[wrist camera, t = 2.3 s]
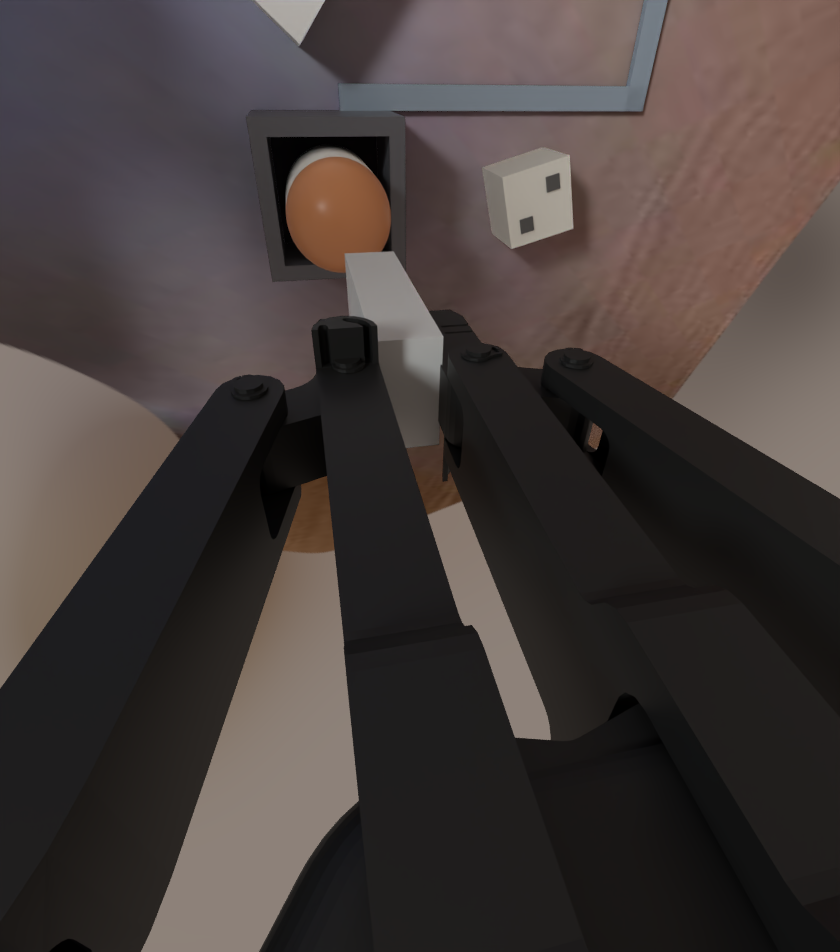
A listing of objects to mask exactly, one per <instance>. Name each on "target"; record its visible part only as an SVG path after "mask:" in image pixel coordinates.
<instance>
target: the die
mask: <svg viewBox="0 0 840 952" xmlns="http://www.w3.org/2000/svg"><path fill="white" fill-rule="evenodd" d="M482 171H483V178H484V185H485V192H486V198H487V205H488V212H489V218H490V225H491V232H492V234H493V235H494V236H495V237H497V238H498V239H499V240H501V241H502V242H503V243H504V244H506V245H507V246H508V247H509V248H511V249H514V248H517V247H520V246H523V245H526V244H529V243H532V242H535V241H538V240H541V239H544V238H547V237H550V236H553V235H556V234H559V233H562V232H565V231H568V230H571V229H573V211H572V192H571V172H570V155H567V154H564V153H561V152H558V151H554V150H551V149H548V148H544V147H542V148H539V149H536V150H533V151H530V152H526V153H523V154H520V155H517V156H514V157H511V158H508V159H505V160H502V161H499V162H496V163H493V164H490V165H487V166H484V167H482Z"/></svg>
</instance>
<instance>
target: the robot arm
mask: <svg viewBox="0 0 840 952" xmlns="http://www.w3.org/2000/svg"><path fill="white" fill-rule="evenodd" d="M344 254H345V267H346V280H347V294H348V307H349V316H338V317H331V318H327V319H320V320H319V321H318V322H317V323H316V324H315V325H313V328H312V330H311V331H312V339H313V347H314V355H315V363H316V375H315V376H314V378H313V379H312V380H310V381H309V382H308V383H306V384H304V385H302V386H299V387H296V388H293V389H290V390H286V391H285V389H284V385H283V384H282V383H281V381H280V380H278V379H275V378H273V377H270V376H263V375H243V376H242V377H241V376H239V377H236V378H234V379H232V380H230V381H228V382H225V383H223V384H222V385H221V386H220V387H218V388H217V389H216V390H215V392H214V393H213V394H212V396H211V397H210V399H209V400H208V401H207V403H206V404H205V406H204V407H203V408H202V410H201V411H200V412H199V414H198V415H197V417H196V418H195V419H194V421H193V422H192V424H191V425H190V426H189V428H188V429H187V430H186V432H185V433H184V435H183V436H182V437H181V439H180V440H179V442H178V443H177V444H176V446H175V447H174V449H173V450H172V451H171V453H170V454H169V456H168V457H167V458H166V460H165V461H164V463H163V464H162V465H161V467H160V468H159V469H158V471H157V472H156V474H155V475H154V476H153V478H152V479H151V481H150V482H149V483H148V485H147V486H146V487H145V489H144V490H143V492H142V493H141V494H140V496H139V497H138V498H137V500H136V501H135V503H134V504H133V505H132V507H131V508H130V510H129V511H128V512H127V514H126V515H125V517H124V518H123V519H122V521H121V522H120V524H119V525H118V526H117V528H116V529H115V530H114V532H113V533H112V535H111V536H110V537H109V539H108V540H107V541H106V543H105V544H104V546H103V547H102V549H101V550H100V551H99V553H98V554H97V555H96V557H95V558H94V559H93V561H92V562H91V564H90V565H89V566H88V568H87V569H86V571H85V572H84V573H83V575H82V576H81V578H80V579H79V580H78V582H77V583H76V585H75V586H74V587H73V589H72V590H71V592H70V593H69V594H68V596H67V597H66V598H65V600H64V601H63V602H62V604H61V605H60V607H59V608H58V609H57V611H56V612H55V614H54V615H53V616H52V618H51V619H50V621H49V622H48V623H47V625H46V626H45V627H44V629H43V631H42V632H41V633H40V634H39V636H38V637H37V639H36V640H35V642H34V643H33V644H32V646H31V647H30V648H29V650H28V651H27V652H26V654H25V655H24V657H23V658H22V659H21V661H20V662H19V664H18V665H17V666H16V668H15V669H14V670H13V672H12V673H11V675H10V676H9V677H8V679H7V680H6V682H5V683H4V684H3V686H2V687H1V689H0V952H141V950H142V948H143V946H144V944H145V942H146V940H147V937H148V935H149V933H150V931H151V928H152V926H153V923H154V921H155V918H156V916H157V913H158V910H159V908H160V905H161V903H162V900H163V897H164V895H165V892H166V890H167V887H168V885H169V882H170V879H171V877H172V874H173V871H174V868H175V865H176V862H177V859H178V856H179V853H180V851H181V847H182V845H183V842H184V839H185V836H186V833H187V830H188V827H189V824H190V821H191V818H192V815H193V812H194V809H195V806H196V803H197V800H198V797H199V794H200V791H201V788H202V786H203V783H204V780H205V777H206V774H207V771H208V768H209V765H210V762H211V759H212V756H213V753H214V750H215V747H216V744H217V742H218V738H219V736H220V733H221V730H222V727H223V724H224V721H225V718H226V715H227V712H228V709H229V706H230V703H231V700H232V697H233V695H234V692H235V689H236V686H237V683H238V680H239V677H240V674H241V671H242V668H243V665H244V662H245V659H246V656H247V653H248V650H249V647H250V644H251V642H252V639H253V635H254V632H255V630H256V627H257V624H258V621H259V618H260V615H261V612H262V609H263V606H264V603H265V600H266V597H267V594H268V591H269V588H270V585H271V583H272V579H273V577H274V574H275V571H276V568H277V565H278V562H279V559H280V556H281V553H282V550H283V547H284V544H285V541H286V538H287V536H288V533H289V530H290V527H291V524H292V521H293V518H294V515H295V512H296V509H297V506H298V503H299V500H300V497H301V484H304V483H307V482H310V481H313V480H315V479H318V478H321V477H324V476H327V480H328V489H329V499H330V509H331V519H332V528H333V538H334V548H335V557H336V567H337V577H338V587H339V597H340V607H341V616H342V626H343V636H344V655H345V665H346V676H347V686H348V695H349V706H350V716H351V725H352V736H353V746H354V756H355V765H356V775H357V785H358V796H359V801H358V802H357V803H356V804H355V805H354V806H353V807H352V808H351V809H350V810H348V811H347V812H346V813H345V814H344V815H343V816H342V817H341V818H340V819H339V820H338V821H337V823H336V824H335V825H334V826H333V827H332V828H331V829H330V831H329V832H328V833H327V834H326V835H325V836H324V838H323V839H322V840H321V842H320V843H319V845H318V846H317V848H316V849H315V851H314V852H313V854H312V855H311V856H310V858H309V860H308V861H307V863H306V864H305V866H304V868H303V870H302V871H301V873H300V875H299V877H298V879H297V880H296V882H295V884H294V886H293V888H292V890H291V892H290V894H289V896H288V898H287V900H286V901H285V904H284V905H283V907H282V909H281V911H280V913H279V915H278V917H277V919H276V921H275V923H274V924H273V926H272V928H271V930H270V932H269V934H268V936H267V938H266V940H265V942H264V944H263V945H262V947H261V949H260V951H259V952H840V499H839V498H838V497H836V496H834V495H832V494H831V493H829V492H827V491H826V490H824V489H822V488H821V487H819V486H817V485H816V484H814V483H812V482H810V481H809V480H807V479H805V478H804V477H802V476H800V475H799V474H797V473H795V472H794V471H792V470H790V469H789V468H787V467H785V466H784V465H782V464H780V463H778V462H777V461H775V460H774V459H772V458H770V457H768V456H766V455H765V454H763V453H762V452H760V451H758V450H757V449H755V448H753V447H752V446H750V445H748V444H747V443H745V442H743V441H742V440H740V439H738V438H737V437H735V436H733V435H731V434H730V433H728V432H726V431H725V430H723V429H721V428H720V427H718V426H716V425H714V424H713V423H711V422H710V421H708V420H706V419H704V418H703V417H701V416H699V415H698V414H696V413H694V412H693V411H691V410H689V409H688V408H686V407H684V406H683V405H681V404H679V403H678V402H676V401H674V400H673V399H671V398H669V397H667V396H666V395H664V394H662V393H661V392H659V391H657V390H656V389H654V388H652V387H651V386H649V385H647V384H646V383H644V382H642V381H641V380H639V379H637V378H635V377H634V376H632V375H630V374H629V373H627V372H625V371H624V370H622V369H620V368H619V367H617V366H615V365H614V364H612V363H610V362H609V361H607V360H605V359H603V358H602V357H600V356H598V355H596V354H593V353H591V352H587V351H583V350H582V349H579V348H574V349H573V348H565V349H560V350H555V351H552V352H549V353H548V354H547V355H546V356H545V359H544V365H543V369H533V368H522V367H517V366H516V364H515V363H514V362H513V360H512V359H511V358H510V356H509V355H508V354H507V353H506V352H505V351H504V350H502V349H501V348H499V347H497V346H494V345H490V344H484V343H481V342H480V340H479V339H478V337H477V336H476V335H475V333H474V332H473V330H472V329H471V327H470V326H468V323H467V322H466V320H465V319H464V318H463V316H461V315H459V314H457V313H455V312H454V311H452V310H437V311H428V309H427V308H426V306H425V304H424V303H423V301H422V299H421V297H420V296H419V294H418V292H417V291H416V289H415V287H414V285H413V284H412V282H411V280H410V279H409V277H408V275H407V273H406V272H405V270H404V268H403V267H402V265H401V263H400V261H399V260H398V258H397V256H396V255H395V253H394V251H389V252H366V253H344ZM593 423H594V424H596V425H597V426H598V427H600V428H601V429H602V430H603V432H602V435H601V439H600V443H599V446H598V448H597V450H596V449H594V448H592V447H591V446H590V445H589V444H588V440H589V436H590V432H591V429H592V425H593ZM440 426H441V429H442V431H443V433H444V453H443V474H442V477H443V481H447V478H448V474H449V472H451V474H452V477H453V479H454V482H455V484H456V487H457V489H458V492H459V494H460V497H461V499H462V502H463V504H464V507H465V509H466V512H467V514H468V517H469V519H470V522H471V524H472V527H473V529H474V531H475V534H476V537H477V539H478V542H479V544H480V547H481V549H482V551H483V554H484V557H485V559H486V561H487V564H488V567H489V569H490V571H491V574H492V577H493V579H494V582H495V584H496V587H497V589H498V592H499V594H500V596H501V599H502V602H503V604H504V606H505V609H506V612H507V614H508V617H509V619H510V622H511V624H512V627H513V629H514V632H515V634H516V636H517V639H518V641H519V644H520V647H521V649H522V651H523V654H524V656H525V659H526V661H527V664H528V666H529V669H530V671H531V674H532V676H533V679H534V681H535V684H536V686H537V689H538V691H539V694H540V696H541V699H542V701H543V704H544V706H545V709H546V712H547V715H548V720H549V724H550V733H551V740H540V739H539V740H538V739H525V738H515V737H514V734H513V731H512V728H511V725H510V722H509V719H508V716H507V714H506V711H505V708H504V705H503V702H502V699H501V697H500V693H499V690H498V687H497V684H496V682H495V679H494V676H493V673H492V670H491V667H490V664H489V661H488V658H487V655H486V652H485V650H484V647H483V644H482V642H481V640H480V637H479V635H478V633H477V631H476V630H475V629H474V628H473V626H472V625H470V626H464V625H463V623H462V621H461V619H460V617H459V614H458V611H457V607H456V605H455V601H454V598H453V595H452V592H451V589H450V586H449V582H448V579H447V576H446V573H445V570H444V567H443V564H442V560H441V557H440V554H439V551H438V548H437V545H436V542H435V538H434V535H433V532H432V529H431V526H430V523H429V519H428V516H427V513H426V510H425V507H424V504H423V501H422V497H421V494H420V491H419V488H418V485H417V482H416V479H415V475H414V472H413V469H412V466H411V463H410V460H409V456H408V453H407V450H406V448H411V447H421V446H430V445H439V431H440Z"/></svg>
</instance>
